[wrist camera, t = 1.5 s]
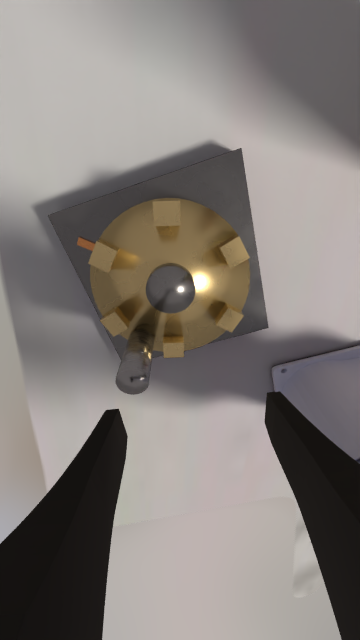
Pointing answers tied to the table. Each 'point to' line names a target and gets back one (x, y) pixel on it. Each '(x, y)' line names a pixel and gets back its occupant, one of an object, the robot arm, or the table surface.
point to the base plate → (187, 183)
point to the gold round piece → (167, 282)
